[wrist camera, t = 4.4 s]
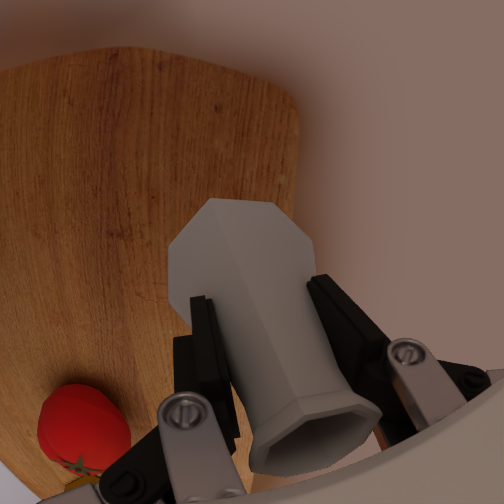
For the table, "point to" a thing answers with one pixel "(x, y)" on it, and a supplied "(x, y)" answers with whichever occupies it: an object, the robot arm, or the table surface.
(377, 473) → the robot arm
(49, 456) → the tomato
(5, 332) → the table surface
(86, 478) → the element tile
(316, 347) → the flask
